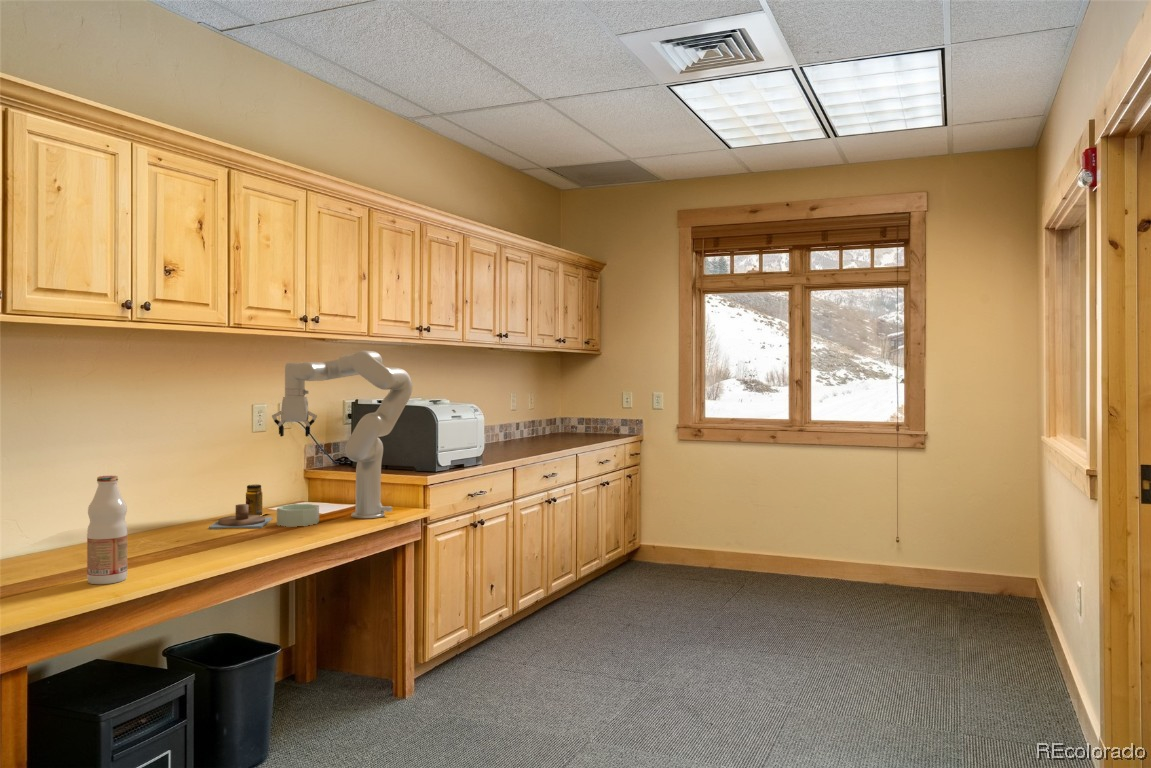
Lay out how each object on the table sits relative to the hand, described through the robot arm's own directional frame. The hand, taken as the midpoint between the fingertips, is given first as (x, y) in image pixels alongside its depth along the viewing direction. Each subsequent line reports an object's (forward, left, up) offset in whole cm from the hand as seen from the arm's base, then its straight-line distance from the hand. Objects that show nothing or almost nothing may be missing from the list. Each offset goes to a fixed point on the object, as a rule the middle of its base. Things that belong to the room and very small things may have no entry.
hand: (294, 436), depth 331 cm
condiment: (+13, +7, -31) cm, 34 cm away
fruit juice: (+29, +106, -31) cm, 114 cm away
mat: (+14, +25, -30) cm, 42 cm away
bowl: (-6, +25, -30) cm, 40 cm away
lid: (+14, +25, -30) cm, 41 cm away
